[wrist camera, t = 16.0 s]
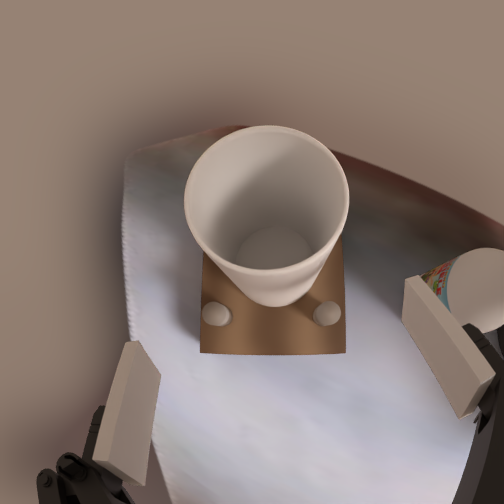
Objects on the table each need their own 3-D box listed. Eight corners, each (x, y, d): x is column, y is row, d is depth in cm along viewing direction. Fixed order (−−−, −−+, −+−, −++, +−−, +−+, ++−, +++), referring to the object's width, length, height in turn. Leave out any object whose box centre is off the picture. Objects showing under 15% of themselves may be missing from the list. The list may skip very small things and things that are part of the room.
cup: (219, 249, 31) (160, 169, 15) (290, 211, 31) (293, 104, 16) (258, 322, 28) (227, 308, 13) (332, 280, 29) (382, 220, 13)
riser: (330, 206, 36) (342, 169, 27) (336, 350, 32) (354, 355, 23) (217, 209, 38) (198, 173, 29) (211, 350, 33) (187, 355, 24)
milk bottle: (462, 293, 31) (576, 252, 12) (437, 347, 30) (557, 346, 11) (419, 262, 33) (521, 193, 14) (391, 316, 32) (499, 291, 13)
